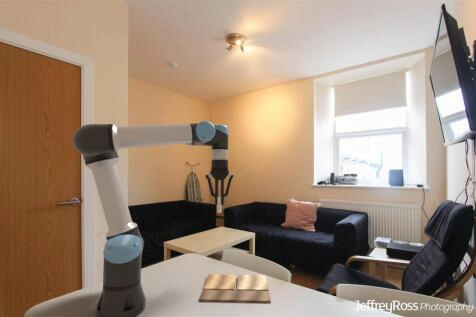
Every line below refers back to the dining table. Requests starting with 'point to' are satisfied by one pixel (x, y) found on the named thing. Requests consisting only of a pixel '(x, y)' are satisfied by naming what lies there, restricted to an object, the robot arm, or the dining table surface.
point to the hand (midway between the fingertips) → (219, 212)
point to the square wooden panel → (252, 283)
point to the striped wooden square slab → (220, 282)
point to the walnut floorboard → (235, 296)
